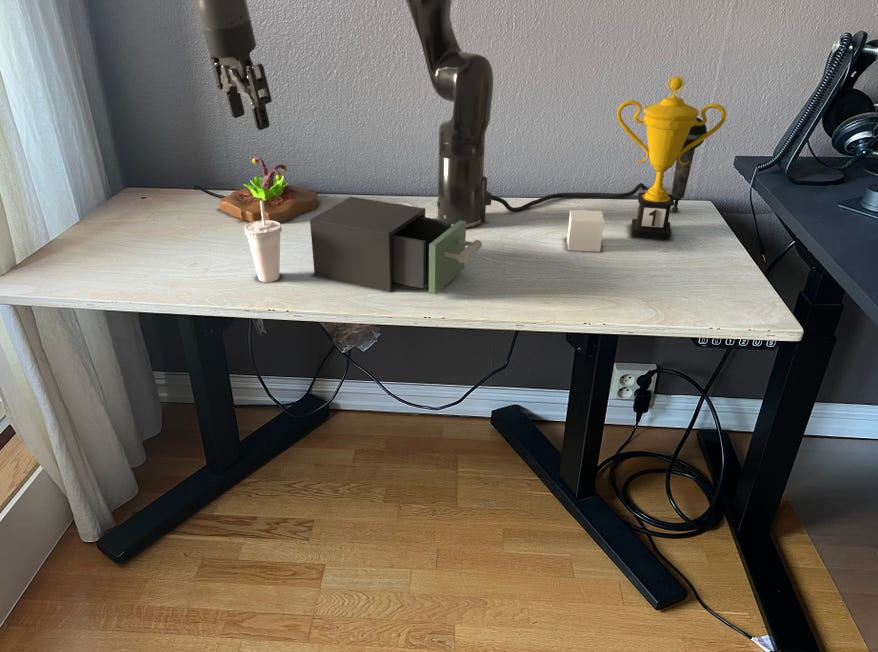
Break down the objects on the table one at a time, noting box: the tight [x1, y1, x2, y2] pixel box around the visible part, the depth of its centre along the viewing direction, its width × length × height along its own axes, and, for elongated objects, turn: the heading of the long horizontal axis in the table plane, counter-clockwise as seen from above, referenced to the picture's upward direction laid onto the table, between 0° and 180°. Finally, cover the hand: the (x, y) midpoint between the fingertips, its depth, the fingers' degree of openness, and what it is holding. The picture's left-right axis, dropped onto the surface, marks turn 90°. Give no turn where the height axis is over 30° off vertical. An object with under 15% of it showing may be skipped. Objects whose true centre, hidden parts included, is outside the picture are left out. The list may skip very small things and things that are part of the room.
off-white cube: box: [566, 209, 605, 253], centre depth 138 cm, size 6×6×6 cm
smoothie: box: [244, 200, 283, 283], centre depth 125 cm, size 6×6×14 cm
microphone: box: [670, 116, 708, 213], centre depth 150 cm, size 7×7×20 cm
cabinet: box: [309, 196, 426, 292], centre depth 128 cm, size 16×14×11 cm
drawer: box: [391, 216, 483, 296], centre depth 124 cm, size 19×12×9 cm, turn 62°
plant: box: [218, 156, 319, 224], centre depth 159 cm, size 20×20×11 cm
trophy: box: [616, 75, 727, 241], centre depth 137 cm, size 19×10×30 cm, turn 74°
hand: (250, 122), depth 120 cm, fingers open, 8 cm apart
